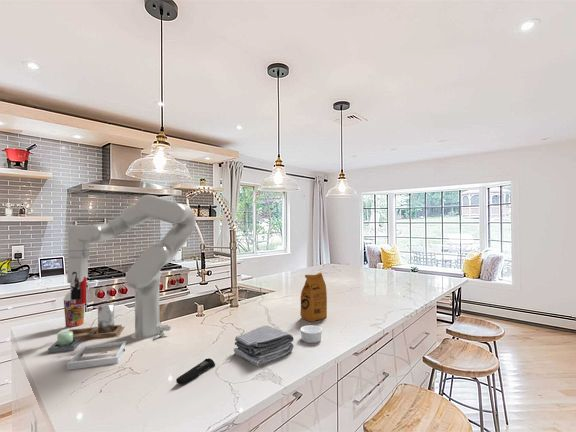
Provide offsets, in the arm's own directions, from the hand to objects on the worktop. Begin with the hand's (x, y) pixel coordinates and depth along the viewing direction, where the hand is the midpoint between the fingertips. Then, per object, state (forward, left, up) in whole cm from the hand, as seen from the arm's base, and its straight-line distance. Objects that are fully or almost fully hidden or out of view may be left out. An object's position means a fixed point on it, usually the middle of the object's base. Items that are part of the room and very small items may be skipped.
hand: (78, 297), depth 130 cm
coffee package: (-103, +6, -18) cm, 105 cm away
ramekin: (-92, +31, -18) cm, 99 cm away
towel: (-71, +37, -18) cm, 82 cm away
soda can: (0, 0, -3) cm, 3 cm away
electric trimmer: (-47, +46, -18) cm, 68 cm away
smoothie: (+7, -17, -18) cm, 26 cm away
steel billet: (-10, 0, -16) cm, 19 cm away
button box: (+1, +12, -17) cm, 21 cm away
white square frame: (-13, +22, -17) cm, 31 cm away
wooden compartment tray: (-5, 0, -17) cm, 18 cm away
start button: (+1, +12, -15) cm, 19 cm away
